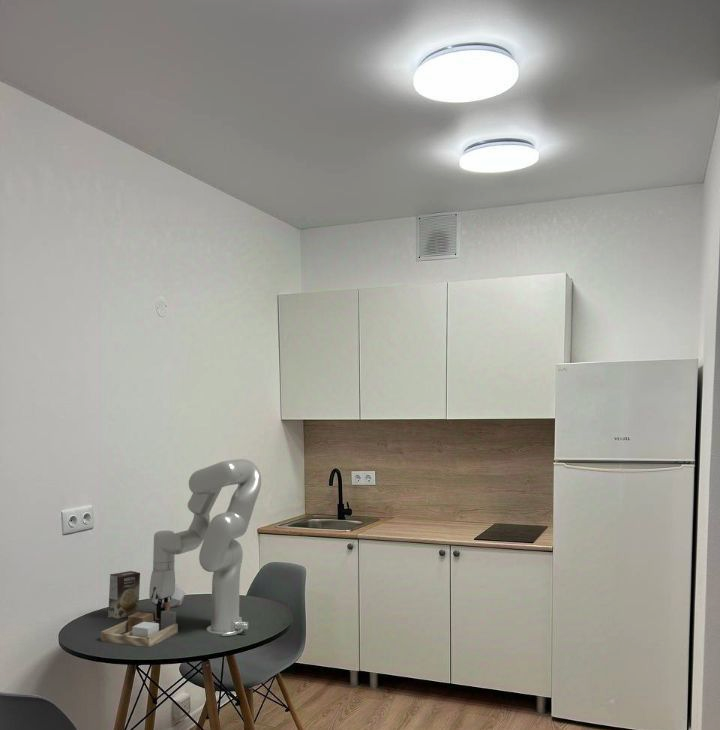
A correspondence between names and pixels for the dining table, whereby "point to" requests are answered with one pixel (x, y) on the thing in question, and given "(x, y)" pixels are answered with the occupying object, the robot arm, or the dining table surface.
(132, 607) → the coffee box
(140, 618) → the walnut block
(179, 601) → the die
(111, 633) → the lane shelf
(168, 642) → the dining table surface
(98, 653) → the dining table surface
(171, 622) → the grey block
